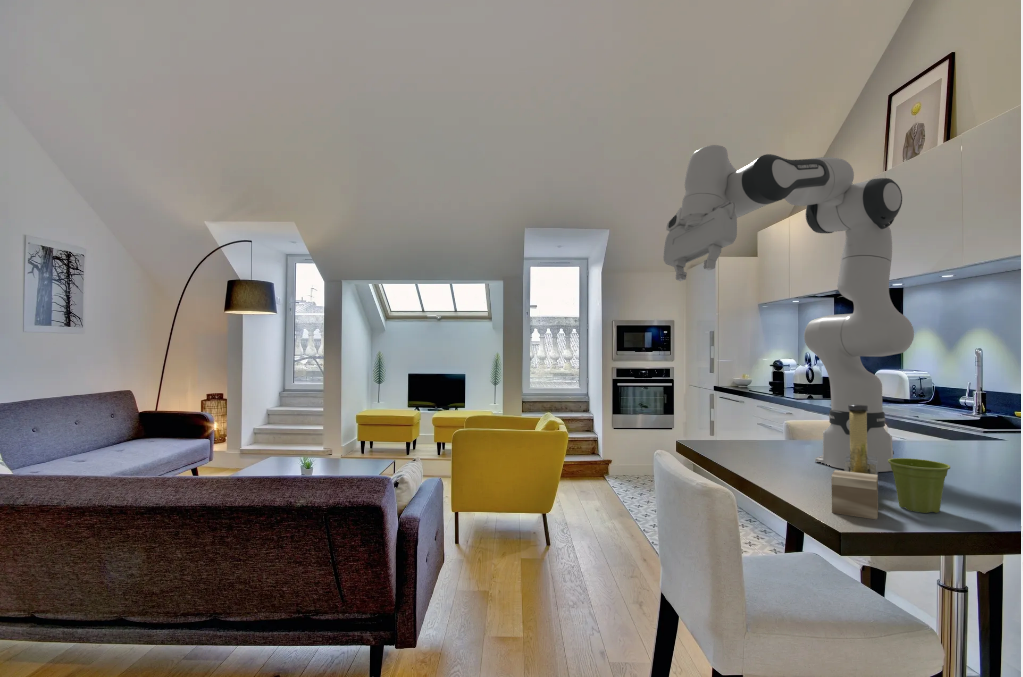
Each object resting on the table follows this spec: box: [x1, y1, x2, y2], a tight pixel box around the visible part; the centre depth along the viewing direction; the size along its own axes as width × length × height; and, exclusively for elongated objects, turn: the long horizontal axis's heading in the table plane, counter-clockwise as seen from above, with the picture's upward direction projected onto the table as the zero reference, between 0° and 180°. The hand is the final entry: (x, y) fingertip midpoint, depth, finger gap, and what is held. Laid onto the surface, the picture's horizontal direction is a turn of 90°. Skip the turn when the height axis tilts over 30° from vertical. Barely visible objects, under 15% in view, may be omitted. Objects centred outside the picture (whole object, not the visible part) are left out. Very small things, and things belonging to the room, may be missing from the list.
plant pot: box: [888, 457, 951, 514], centre depth 102 cm, size 9×9×9 cm
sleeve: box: [843, 454, 879, 476], centre depth 118 cm, size 10×6×6 cm, turn 145°
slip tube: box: [848, 405, 871, 474], centre depth 114 cm, size 20×3×17 cm, turn 145°
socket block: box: [830, 469, 879, 520], centre depth 100 cm, size 6×7×7 cm
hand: (694, 274), depth 116 cm, fingers open, 8 cm apart
